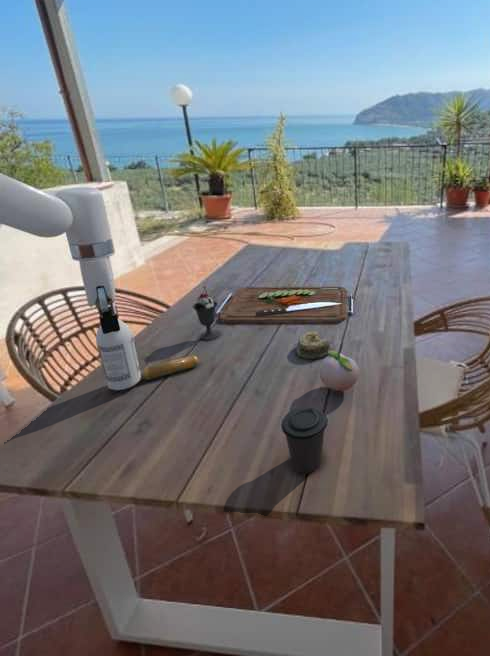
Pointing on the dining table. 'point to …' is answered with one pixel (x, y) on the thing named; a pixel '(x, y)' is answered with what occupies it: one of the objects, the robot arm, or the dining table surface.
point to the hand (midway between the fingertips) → (111, 326)
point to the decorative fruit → (338, 371)
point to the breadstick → (169, 367)
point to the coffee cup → (305, 437)
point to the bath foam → (118, 357)
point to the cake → (313, 346)
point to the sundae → (206, 314)
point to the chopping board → (286, 305)
